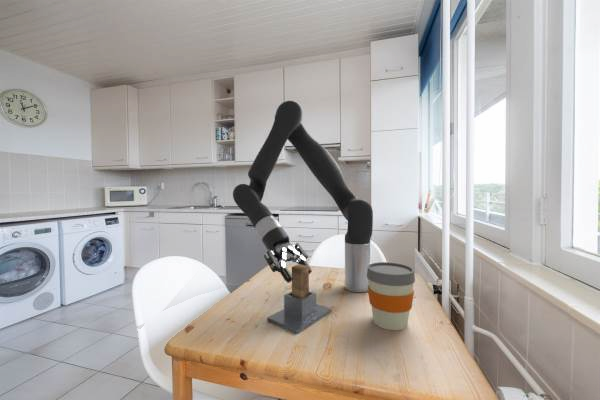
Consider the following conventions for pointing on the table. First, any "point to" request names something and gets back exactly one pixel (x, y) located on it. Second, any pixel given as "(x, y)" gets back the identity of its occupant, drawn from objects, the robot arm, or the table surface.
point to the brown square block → (300, 281)
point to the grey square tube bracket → (299, 313)
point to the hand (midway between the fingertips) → (300, 277)
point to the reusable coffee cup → (390, 294)
